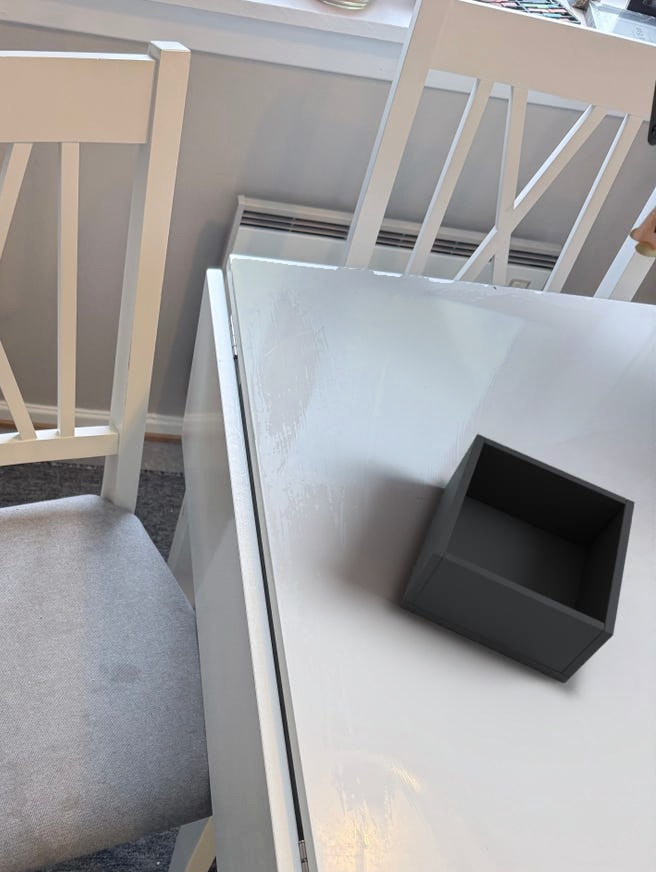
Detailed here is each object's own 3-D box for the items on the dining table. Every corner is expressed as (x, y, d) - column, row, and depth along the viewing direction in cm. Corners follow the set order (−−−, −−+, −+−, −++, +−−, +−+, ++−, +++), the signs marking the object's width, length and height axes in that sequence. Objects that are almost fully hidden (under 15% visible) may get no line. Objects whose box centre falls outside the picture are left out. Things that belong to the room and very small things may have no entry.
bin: (591, 553, 80) (635, 501, 75) (565, 683, 70) (613, 635, 65) (444, 488, 82) (477, 433, 76) (399, 606, 72) (433, 553, 67)
